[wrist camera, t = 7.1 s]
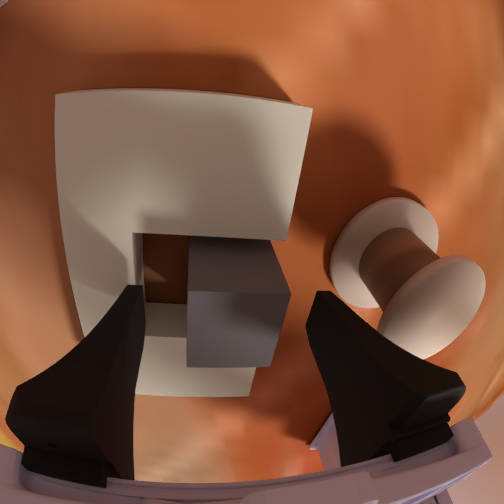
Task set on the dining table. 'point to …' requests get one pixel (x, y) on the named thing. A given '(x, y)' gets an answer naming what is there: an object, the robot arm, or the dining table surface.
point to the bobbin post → (406, 276)
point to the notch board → (169, 201)
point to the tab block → (233, 302)
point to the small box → (3, 2)
